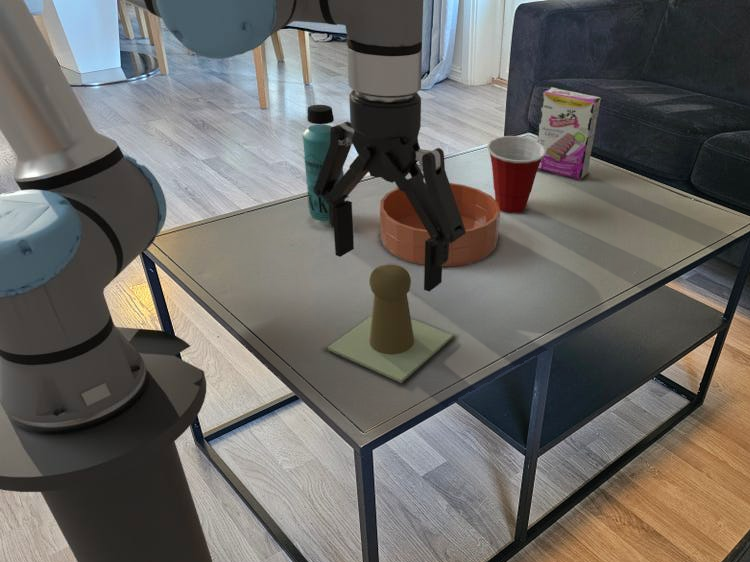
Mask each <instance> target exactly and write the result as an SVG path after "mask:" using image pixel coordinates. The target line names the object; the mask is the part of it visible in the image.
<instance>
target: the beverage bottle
mask: <svg viewBox="0 0 750 562" xmlns="http://www.w3.org/2000/svg"><path fill="white" fill-rule="evenodd" d="M306 118H307V122H308V123H310V124H312V125H310V126H308V127H307V128H306V129H304V131H303V133H302V134H301V135H302V143H303V154H304V169H305V170H304V171H305V175H304V176H305V180H306V184H305V185H306V187H307V189H306V190H307V191H306V192H307V193H306V194H307V207H308V213H309V214H310V217H311V218H312V219H314V220H316V221H320V222H330V217H329V216H330V215H329V205H328V204H327V202H326V199H325V198H323V197H322V196H317V195H316V194H315V193H314V187H315V184H316V181H317V179H318V176H319V173H320V171H321V168H322V165H323V162H324V160H325V157H326V154H327V152H328V149H329V146H330V131H331V127H333V125H328V124H331V123H333V122H334V121H335V119H334V114H333V108H332V107H331V106H330V105H327V104H313V105H310V106H308V107H307V117H306ZM344 174H345V173H344V167H343V168H342V171H341V173H340V176H339V178H338V181H337V183H338V182H339V180H340V179H341V178H342V177H343V176H344ZM337 183H336V184H337ZM345 201H346V199H344V202H345Z"/></svg>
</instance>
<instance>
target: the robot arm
mask: <svg viewBox="0 0 750 562" xmlns="http://www.w3.org/2000/svg"><path fill="white" fill-rule="evenodd" d="M121 1H122V2H124V3H127V4H129V5H131V6H133V7H136V8H138V9H140V10H142V11H145V12H147V13H149V14H151V15H153V16H156V17H157V18H161V20H162V22H163V23H164V25H165V27H166V28H167V30H168V31H169V33H171V34H172V35H173V36H174V37H175V39H176V40H178V42H180V44H182V46H183V47H184V48H186V49H187V50H189V51H190V52H192V53H195V54H196V55H198V56H201V57H204V58H208V59H214V60H222V59H223V60H224V59H230V58H233V57H236V56H239V55H243V54H246V53H248V52H250V51H253V50H255V49H257V48H258V47H260V46H261V45H263V44H264V42H265V41H266V40H268V38H269V37H271V36H272V35H274V34H276V33H277V32H278V31H281V30H282V29H283V28H285V27H287V26H288V25H290V24H292V23H294V22H300V23H301V22H302V23H312V24H313V23H314V24H315V23H316V24H326V25H331V26H339V25H341V26H344V27H345V33H346V53H347V57H346V58H347V85H348V87H349V88H350V89H351V92H350V93H349V95H348V97H349V98H348V99H349V121H345V122H342V123H338V124H336V125H332V127H331V131H330V146H329V149H328V152H327V154H326V157H325V160H324V162H323V165H322V168H321V171H320V173H319V176H318V179H317V181H316V184H315V187H314V193H315V194H316V195H317V196H322V197H323V198H325V199H326V202H327V204H328V205H329V215H330V216H329V217H330V221H329V225H330V228H333V237H334V250H335V251H334V253H335V256H337V257H339V258H341V257H343V256H344V255H347V254H348V253H350V252H351V251H353V250H354V249H355V243H354V241H355V240H354V221H353V219H354V218H353V202H352V201H350V200H347V198H349V197H350V194H351V193H352V192H353V190H354V189H355V188H356V187H357V185H359V184H360V182H361V181H362V180H363V179H364V178H365V176H366V175H367V174H368V173H369V176H371V177H373V178H380V179H383V180H384V181H386V182H388V183H394V184H395V185H396V186H397V187H396V188H399V190H401V191H403V192H404V193H405V194H406V196H407V198H408V199H409V201H410V203H411V205H412V206H413V208H414V210H415V211H416V213H417V215H418V217H419V218H420V220H421V222H422V223H423V225H424V227H425V229H426V230H427V232H428V234H429V235H430V238H429V239H427V240H426V241H425V265H424V270H423V274H424V276H423V291H426V292H431V291H432V290H434V289H435V288H436V287H437V286H440V285H441V283H442V282H443V281H442V280H443V267H444V266H443V265H444V264H445V263H447V261H448V254H449V243H452V242H454V241H455V240H457V239H458V238H460V237H461V236H463V235H464V234H465V232H466V231H465V227H464V224H463V221H462V219H461V216H460V213H459V210H458V207H457V204H456V201H455V198H454V195H453V192H452V189H451V186H450V183H451V182H450V181H449V177H448V175H447V171H446V168H445V167H446V166H445V165H446V164H445V152H444V150H443V149H442V148H440V147H437V148H435V149H433V150H429V149H424V148H421V147H420V143H419V139H418V138H419V133H420V131H421V126H422V125H421V124H422V97H421V95H420V94H419V93H418V92H419V91H421V89H422V71H423V70H422V69H423V67H422V66H423V65H422V64H423V63H422V59H423V26H424V0H121ZM0 132H1V133H2V135H3V136H4V138H5V140H6V141H7V144H8V145H9V146H10V148H11V149H12V151H13V152H14V154H15V155H16V163H15V166H14V170H13V173H12V178H13V180H14V181H15V183H16V184H17V186H18V187H19V190H12V191H8V192H3V193H0V400H1V404H2V407H3V408H4V410H5V412H6V414H7V416H8V418H9V419H10V421H11V422H12V423H13V424H14V425H16V426H17V427H19V428H21V429H23V430H26V431H29V432H33V433H39V434H65V433H72V432H77V431H81V430H85V429H89V428H92V427H95V426H98V425H100V424H103V423H105V422H107V421H110V420H112V419H113V418H115V417H117V416H119V415H121V414H122V413H124V412H125V411H127V410H128V409H129V408H130V407H132V406H133V405H134V404H135V403H136V402H137V401H138V400H139V399H140V398H141V396H142V395H143V393H144V392H145V390H146V388H147V385H148V372H147V369H146V366H145V363H144V360H143V358H142V357H141V355H140V354H139V353H138V352H137V351H136V349H135V348H134V347H133V346H132V345H131V344H130V343H129V341H128V340H127V339H126V338H125V337H124V336H123V334H122V333H121V332H120V331H119V330H118V329H117V327H118V326H116V325H115V323H114V321H113V318H112V315H111V312H110V309H109V305H108V303H107V300H106V297H105V293H104V292H105V289H106V288H107V286H109V285H110V284H111V283H112V282H113V281H114V280H115V279H116V278H117V277H118V276H119V275H120V274H121V273H122V272H123V271H124V270H125V269H126V268H127V267H128V266H130V264H131V263H132V262H134V260H135V259H137V257H139V256H140V255H141V254H142V253H143V252H145V251H147V250H148V249H149V248H150V247H151V246H152V244H153V243H154V241H155V240H156V237H158V235H159V234H160V232H161V231H162V229H163V228H164V225H165V222H166V219H167V211H168V210H167V209H168V208H167V201H166V196H165V194H164V193H165V192H164V190H163V188H162V186H161V183H159V181H158V180H157V178H156V177H155V175H154V174H153V173H152V171H151V170H150V169H149V168H148V167H147V166H146V165H144V164H139V163H138V162H137V160H136V159H135V158H133V157H131V156H129V155H127V154H124V153H123V151H122V149H121V148H120V145H119V144H118V142H117V141H116V140H115V139H113V138H110V137H108V136H106V135H103V134H101V133H99V132H98V131H97V130H95V128H94V127H93V124H92V123H91V121H90V119H89V118H88V115H87V113H86V112H85V110H84V109H83V106H82V105H81V102H80V100H79V99H78V97H77V95H76V93H75V92H74V90H73V88H72V86H71V84H70V83H69V81H68V79H67V77H66V75H65V73H64V71H63V70H62V67H61V66H60V64H59V63H58V60H57V59H56V57H55V54H54V53H53V51H52V49H51V47H50V46H49V43H48V42H47V40H46V39H45V36H44V35H43V33H42V31H41V29H40V27H39V26H38V24H37V22H36V20H35V18H34V17H33V15H32V13H31V10H30V9H29V7H28V5H27V3H26V2H25V0H0ZM352 145H353V148H354V150H355V151H356V153H357V156H356V157H355V159H354V160H352V163H351V164H349V166H348V167H349V168H348V170H347V171H346V172H345V173H344V174H343V175H344V176H343V177H342V178H341V179H340V180H339V182H338V183H337V181H338V178H339V176H340V173H341V171H342V168H343V169H344V165H345V163H346V161H347V158H348V156H349V153H350V150H351V148H352ZM418 163H419V165H418ZM408 175H410V176H411V177H410V178H406V177H407V176H408ZM424 182H425V183H426V184H425V183H424ZM336 183H337V184H336ZM426 185H427V186H426ZM344 199H345V202H344ZM438 228H439V229H438Z"/></svg>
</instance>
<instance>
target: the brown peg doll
mask: <svg viewBox="0 0 750 562" xmlns="http://www.w3.org/2000/svg"><path fill="white" fill-rule="evenodd" d="M368 282H369V287H370V290H371V293H372V294H373V301H372V302H373V303H372V313H371V316H372V320H371V329H370V338H369V343H370V346H371V347H372V348H373V349H374V350H376V351H378V352H380V353H384V354H399V353H402V352H405V351H407V350H409V349H410V348H411V347H412V346H413V344H414V336H413V330H412V323H411V319H412V318H411V312H410V306H409V300H408V299H409V298H408V293H409V292H410V289H411V286H412V279H411V276H410V273H409V271H408V270H407V269H406V268H405V267H403V266H401V265H398V264H394V263H393V264H392V263H388V264H382V265H378V266H377V267H375V268H374V269H373V270H372V272H371V273H370V276H369V281H368Z"/></svg>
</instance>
